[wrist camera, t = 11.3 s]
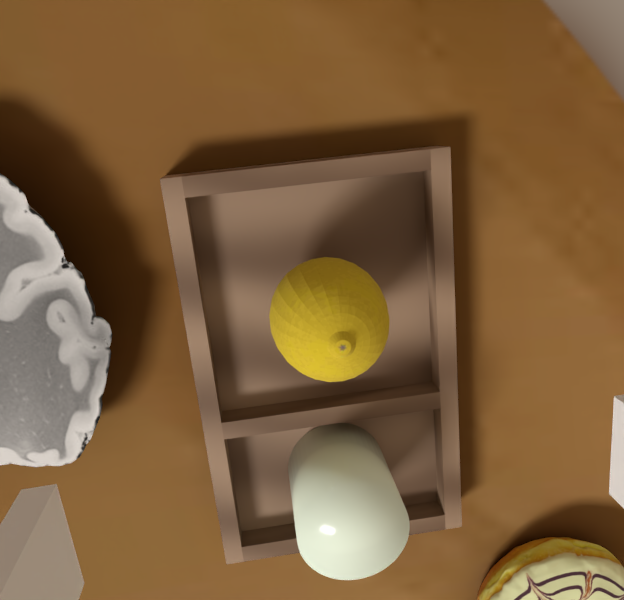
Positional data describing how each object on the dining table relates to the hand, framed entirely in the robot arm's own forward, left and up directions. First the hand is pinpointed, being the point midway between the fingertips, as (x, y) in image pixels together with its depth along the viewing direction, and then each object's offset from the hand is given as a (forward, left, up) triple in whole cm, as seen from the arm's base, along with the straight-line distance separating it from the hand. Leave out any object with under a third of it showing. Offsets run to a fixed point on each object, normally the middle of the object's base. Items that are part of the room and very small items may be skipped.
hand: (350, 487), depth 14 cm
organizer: (+5, +1, -19) cm, 19 cm away
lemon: (+1, +1, -18) cm, 18 cm away
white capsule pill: (+11, +1, -18) cm, 21 cm away
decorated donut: (+24, +14, -19) cm, 34 cm away
